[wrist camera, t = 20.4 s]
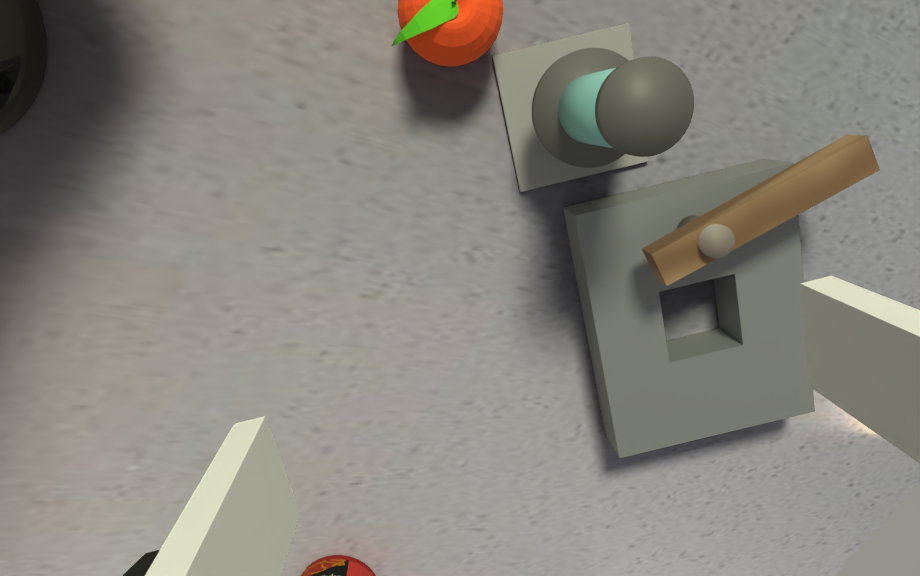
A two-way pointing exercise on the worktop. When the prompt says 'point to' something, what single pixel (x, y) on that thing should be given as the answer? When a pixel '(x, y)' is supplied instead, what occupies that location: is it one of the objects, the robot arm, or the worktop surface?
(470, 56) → the clementine
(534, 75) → the mat
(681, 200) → the socket block
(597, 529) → the worktop surface
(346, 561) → the canned food
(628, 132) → the plug
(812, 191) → the brown wooden lever
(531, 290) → the worktop surface
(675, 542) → the worktop surface
